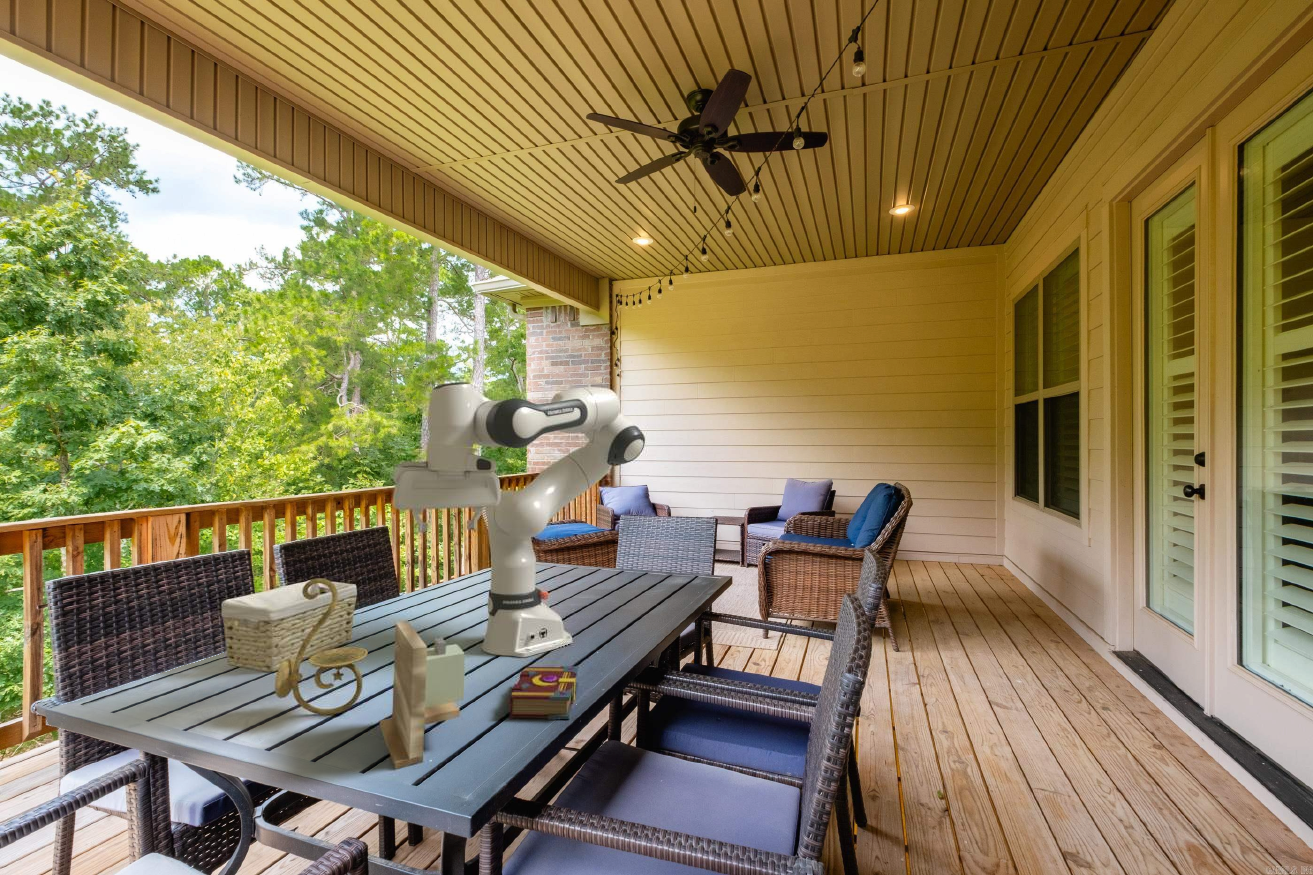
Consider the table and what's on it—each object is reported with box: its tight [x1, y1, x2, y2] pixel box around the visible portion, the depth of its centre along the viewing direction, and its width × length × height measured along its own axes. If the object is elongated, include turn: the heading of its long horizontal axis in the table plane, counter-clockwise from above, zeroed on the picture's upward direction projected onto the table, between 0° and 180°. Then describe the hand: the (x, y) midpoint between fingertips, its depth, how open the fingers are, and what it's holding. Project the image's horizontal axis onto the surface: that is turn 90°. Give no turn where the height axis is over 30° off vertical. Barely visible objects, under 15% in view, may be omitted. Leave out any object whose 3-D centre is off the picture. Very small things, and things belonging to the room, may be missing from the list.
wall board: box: [379, 620, 461, 770], centre depth 96 cm, size 10×16×18 cm, turn 34°
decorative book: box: [508, 665, 580, 720], centre depth 111 cm, size 11×16×5 cm
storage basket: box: [220, 579, 358, 673], centre depth 134 cm, size 24×16×15 cm
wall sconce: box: [274, 577, 368, 716], centre depth 103 cm, size 14×10×25 cm
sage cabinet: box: [425, 637, 466, 708], centre depth 98 cm, size 8×6×10 cm
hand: (447, 530), depth 112 cm, fingers open, 8 cm apart
